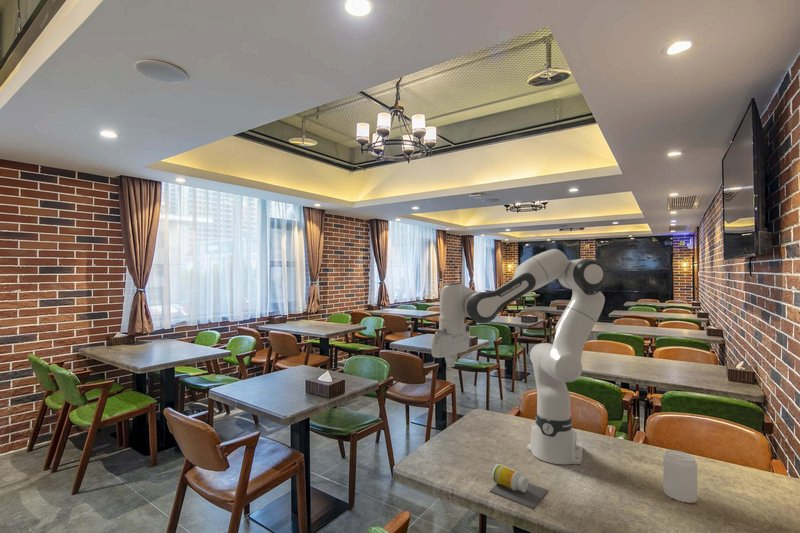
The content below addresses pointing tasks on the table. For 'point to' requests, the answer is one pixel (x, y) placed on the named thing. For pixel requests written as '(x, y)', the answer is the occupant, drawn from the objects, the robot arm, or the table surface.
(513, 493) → the rubber mat
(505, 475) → the supplement bottle
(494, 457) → the table surface
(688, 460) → the beverage can
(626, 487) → the table surface
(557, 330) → the robot arm
